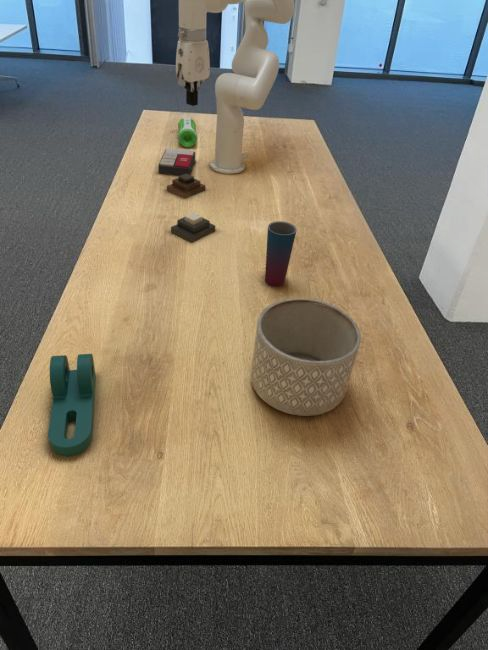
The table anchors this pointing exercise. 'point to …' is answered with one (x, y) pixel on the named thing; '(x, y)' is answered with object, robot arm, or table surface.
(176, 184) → the walnut key block
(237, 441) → the table surface
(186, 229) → the block
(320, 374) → the planter
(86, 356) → the bracket
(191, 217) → the ivory key
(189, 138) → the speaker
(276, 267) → the cup
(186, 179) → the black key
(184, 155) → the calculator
